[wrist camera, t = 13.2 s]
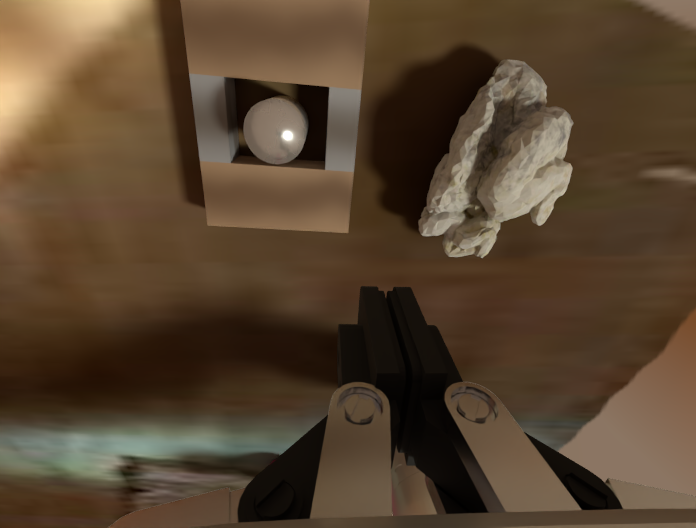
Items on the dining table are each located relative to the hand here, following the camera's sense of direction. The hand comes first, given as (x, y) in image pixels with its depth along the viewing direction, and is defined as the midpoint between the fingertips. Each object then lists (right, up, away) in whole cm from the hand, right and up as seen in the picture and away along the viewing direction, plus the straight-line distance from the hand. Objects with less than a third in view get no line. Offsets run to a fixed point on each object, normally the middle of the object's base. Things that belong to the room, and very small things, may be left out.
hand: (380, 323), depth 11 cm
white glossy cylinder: (-7, +15, +19) cm, 25 cm away
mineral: (+12, +12, +22) cm, 28 cm away
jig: (-7, +15, +19) cm, 25 cm away
